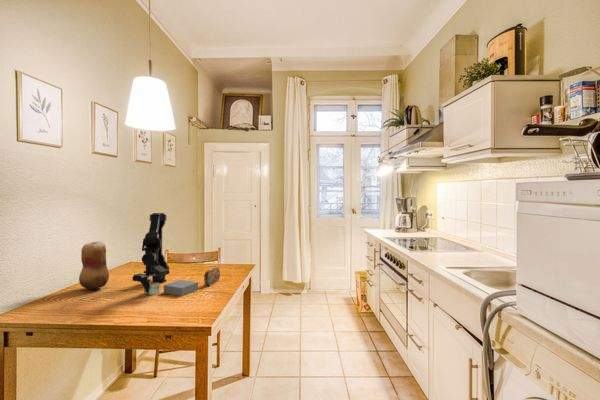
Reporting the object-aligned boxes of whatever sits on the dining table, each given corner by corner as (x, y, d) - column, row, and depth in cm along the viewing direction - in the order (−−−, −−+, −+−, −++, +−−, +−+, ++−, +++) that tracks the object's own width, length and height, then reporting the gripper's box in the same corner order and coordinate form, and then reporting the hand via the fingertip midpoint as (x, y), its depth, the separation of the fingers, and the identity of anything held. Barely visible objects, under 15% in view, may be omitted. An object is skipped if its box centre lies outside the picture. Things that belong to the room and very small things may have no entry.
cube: (144, 293, 168) (144, 284, 168) (152, 291, 173) (152, 281, 173) (151, 295, 166) (151, 285, 166) (159, 292, 171) (159, 282, 171)
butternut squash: (73, 293, 168) (73, 244, 168) (86, 286, 181) (86, 240, 181) (103, 292, 170) (102, 244, 170) (113, 285, 183) (113, 240, 183)
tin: (208, 287, 181) (208, 272, 181) (203, 287, 182) (203, 271, 182) (220, 280, 196) (220, 266, 196) (215, 280, 197) (215, 265, 197)
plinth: (163, 293, 170) (163, 285, 170) (180, 286, 181) (180, 279, 181) (182, 296, 166) (182, 288, 166) (198, 289, 177) (198, 282, 177)
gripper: (148, 265, 157) (148, 298, 158) (177, 258, 175) (177, 288, 175) (131, 263, 162) (131, 295, 162) (161, 256, 179) (161, 285, 179)
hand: (151, 291), depth 169 cm, fingers closed on cube, 5 cm apart
